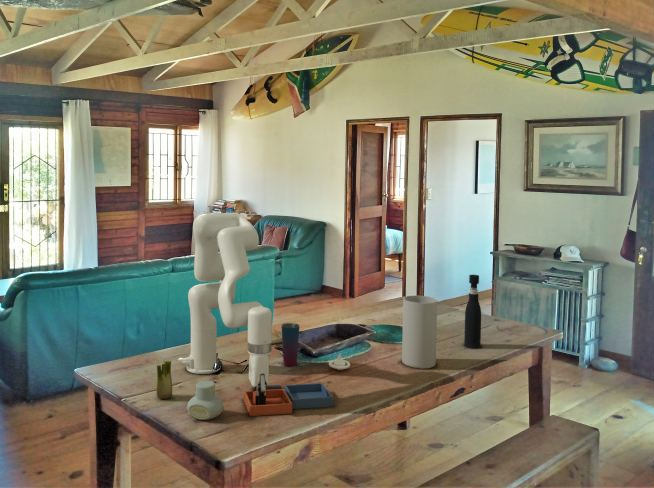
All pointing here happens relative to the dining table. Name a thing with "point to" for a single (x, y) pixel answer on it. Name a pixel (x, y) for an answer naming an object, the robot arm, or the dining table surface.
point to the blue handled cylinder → (273, 387)
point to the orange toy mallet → (266, 401)
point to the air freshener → (205, 402)
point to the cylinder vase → (419, 331)
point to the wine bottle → (473, 316)
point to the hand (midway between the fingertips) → (259, 404)
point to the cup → (290, 343)
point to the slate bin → (309, 395)
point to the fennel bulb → (164, 380)
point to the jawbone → (277, 340)
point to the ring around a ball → (339, 363)
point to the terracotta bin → (271, 408)
